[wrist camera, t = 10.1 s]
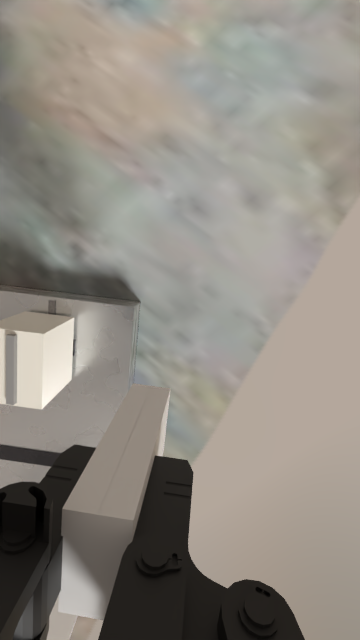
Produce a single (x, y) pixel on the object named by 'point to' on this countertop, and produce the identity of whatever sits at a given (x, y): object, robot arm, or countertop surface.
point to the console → (81, 392)
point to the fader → (34, 358)
